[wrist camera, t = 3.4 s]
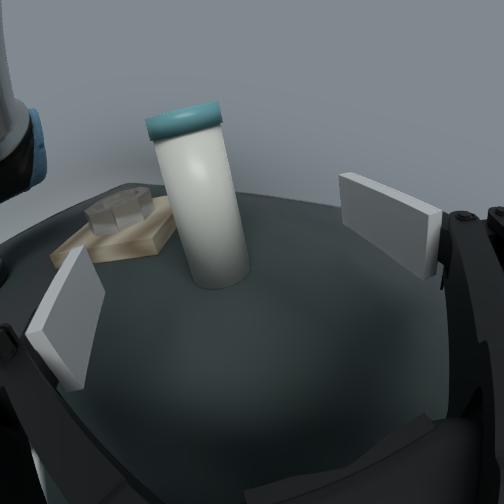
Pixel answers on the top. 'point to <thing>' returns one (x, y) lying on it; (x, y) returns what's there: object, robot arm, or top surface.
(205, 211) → the canister
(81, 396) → the top surface
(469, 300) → the robot arm
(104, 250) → the collar base
